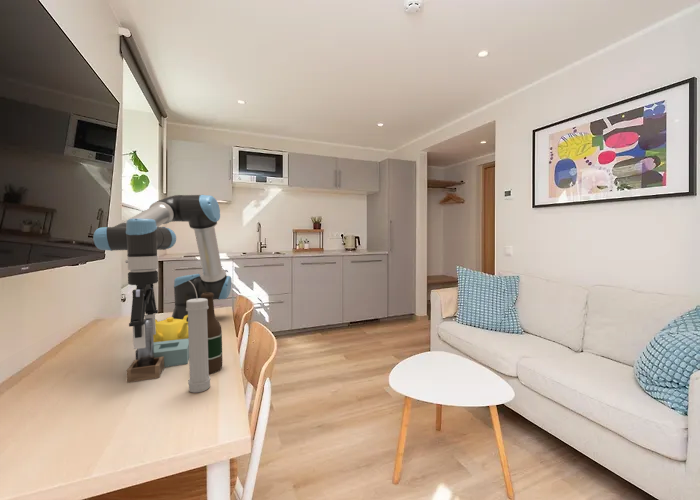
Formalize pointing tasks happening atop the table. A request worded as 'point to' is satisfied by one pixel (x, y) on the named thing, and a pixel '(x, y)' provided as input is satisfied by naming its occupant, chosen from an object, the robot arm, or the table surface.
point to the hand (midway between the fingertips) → (145, 341)
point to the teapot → (171, 329)
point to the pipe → (198, 344)
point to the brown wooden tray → (145, 370)
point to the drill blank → (147, 346)
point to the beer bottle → (213, 336)
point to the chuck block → (172, 351)
